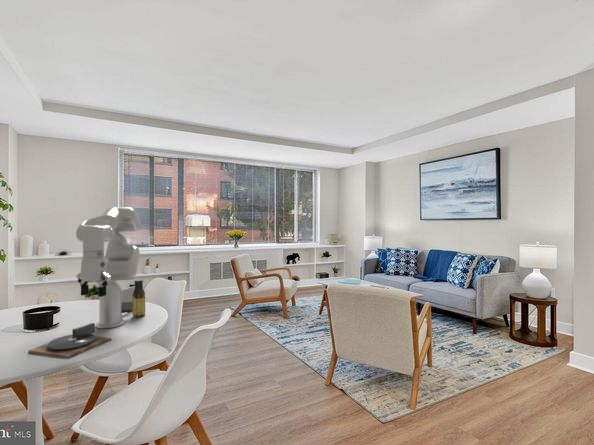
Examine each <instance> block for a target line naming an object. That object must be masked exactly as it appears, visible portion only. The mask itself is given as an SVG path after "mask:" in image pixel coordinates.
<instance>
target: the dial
mask: <svg viewBox="0 0 594 445" xmlns="http://www.w3.org/2000/svg"><path fill="white" fill-rule="evenodd" d="M71 330H72V334H67V335H64V336H60V337H57V338H54V339H52V340H50V341H49V342H48V343H47V344H48V349H50V350H55V351H61V350H70V349H76V348H80V347H83V346H86V345H88V344H91V343H92V342H94V340H95V336H96V335H95V334H94V333H96V323H94V322H93V323H92V322H90V323H87V324H84V325H82V326H78V327H75V328H72V329H71Z"/></svg>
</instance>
